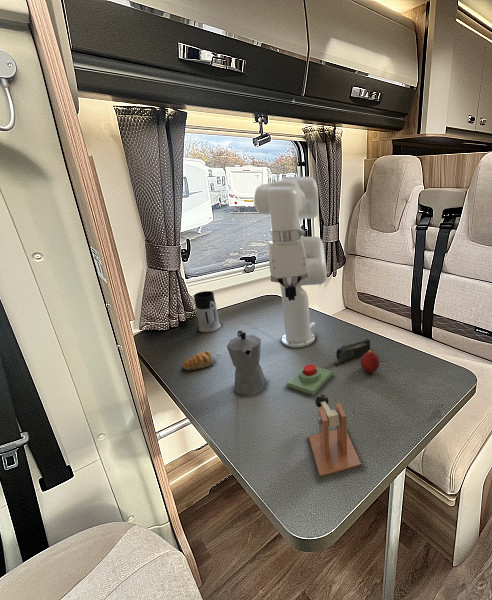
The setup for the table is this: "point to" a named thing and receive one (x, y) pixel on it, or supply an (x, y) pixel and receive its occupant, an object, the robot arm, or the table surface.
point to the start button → (309, 370)
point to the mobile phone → (353, 350)
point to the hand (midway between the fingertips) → (291, 298)
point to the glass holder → (206, 311)
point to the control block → (309, 380)
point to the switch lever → (328, 410)
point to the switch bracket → (333, 445)
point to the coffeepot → (246, 363)
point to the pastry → (198, 361)
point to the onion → (370, 361)
